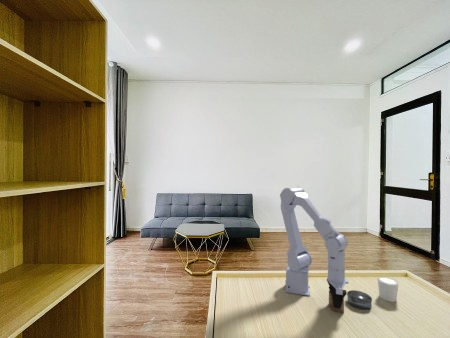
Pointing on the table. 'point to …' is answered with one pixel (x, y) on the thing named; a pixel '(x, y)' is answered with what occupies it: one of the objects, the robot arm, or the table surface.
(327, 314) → the table surface
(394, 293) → the grey and white cylinder
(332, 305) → the walnut block
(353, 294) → the tin
